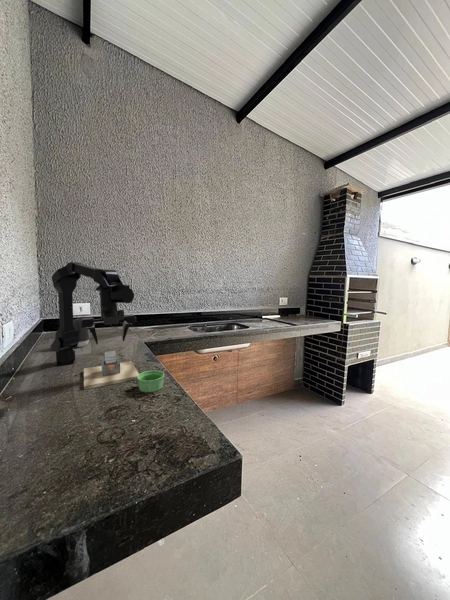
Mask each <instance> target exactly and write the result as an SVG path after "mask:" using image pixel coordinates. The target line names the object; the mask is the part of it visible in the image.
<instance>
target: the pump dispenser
mask: <svg viewBox="0 0 450 600" xmlns="http://www.w3.org/2000/svg"><path fill="white" fill-rule="evenodd" d="M81 319H82V318H76V319H73V325H74V327H75V328H76V329H77V330H79V337H80V339H79V342H78V347H77V348H83V347H85V346H87V345H88V343H89V342H90V339H91V336H90V330H86V328H81Z"/></svg>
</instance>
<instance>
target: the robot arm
mask: <svg viewBox="0 0 450 600" xmlns="http://www.w3.org/2000/svg"><path fill="white" fill-rule="evenodd" d="M82 276H84V277H88V278H91V279H92V280H93V282H95V283H96V284H98V286H97V287H96V288H95V291H99V302H100V305H99V306H100V318H96V319H95V318H94V317H93V316H92V317H82V318H80V319H81V328H86V330H89V333H91V335H92V337H93V339H94V341H95V344H96V345H98V344H99V342H98V341H99V340H98V336H97V331H96V327H95V325H101V324H102V325H103V324H104V325H105V326H109V325H118V324H119V323H122V335H121V339H122V341H123V342H125V339H126V336H127V332H128V330H129V328H130V327H131V326H133V325H134V324H136V323H137V316H136V315H134V314H125V310H124V309H118V304H131V303H132V302H133V300H134V299H135V293H134V290H133V289H132V288H130V287H131V286H130V284H124V282H123V280H122V279H121V277H120V275H119V273H118V271H117V270H116V269H106V268H105V269H103V268H97V267H95V266H91V265H87V264H83V263H81V262H76V261H75V262H73V261H71V262H68V263H67V264H66V265H64V266H61V267H60V268H59V269H57V270H56V271H55V272H54V273H53V274H52V276H51V280H52V284H53V285H52V286H53V288H54V289H55V291H56V292H57V296H58V314H59V315H58V316H59V318H58V319H59V327H58V329H57V330H56V331H55V333H54V334H55V335H54V336H55V337H54V340H53V342H52V343H51V345H50V350H51V352H55V362H56V363H55V367H59V366H64V365H73V364H74V363H75V361H76V350H74V349H75V348H79V347H78V342H79V339H80V337H79V330H77V329H76V328H75V327H74V325H73V321H74V301H73V300H74V299H73V293H74V291H75V290H76V287H77V283H78V281H79V279H81V277H82Z"/></svg>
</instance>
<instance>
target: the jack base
mask: <svg viewBox="0 0 450 600" xmlns="http://www.w3.org/2000/svg"><path fill="white" fill-rule="evenodd" d="M100 361H101V360H100ZM139 374H140V373H139V372H138V370H137V367H135V365H134V363H133V361H131V360H129V361H124V362H120V360H119V359H118V358H116V364H109V365H105V360H102V361H101V365H97V366H92V367H91V366H90V367H85V368H83V390H88V389H93V388H94V389H95V388H100V387H103V386H110V385H115V384H121V383H124V382H130V381H131V382H132V381H136V380H137V376H138V375H139Z"/></svg>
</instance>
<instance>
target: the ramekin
mask: <svg viewBox="0 0 450 600" xmlns="http://www.w3.org/2000/svg"><path fill="white" fill-rule="evenodd" d="M164 378H165V373H164V371H162V370H157V369H156V370H154V369H153V370H152V369H151V370H146V371H143V372H141V373H139V375H138V376H137V379H136V380H137V383H138V385H137V386H138V390H139V391H140V392H142V393H154V392H157V391H160V390H161V389H162V388H163V387H164Z"/></svg>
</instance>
